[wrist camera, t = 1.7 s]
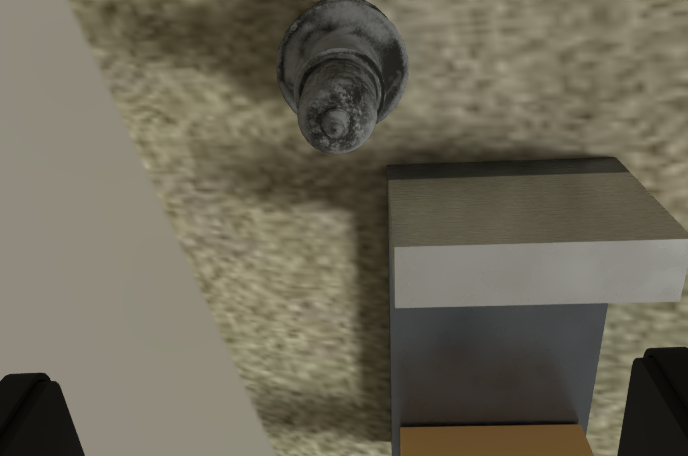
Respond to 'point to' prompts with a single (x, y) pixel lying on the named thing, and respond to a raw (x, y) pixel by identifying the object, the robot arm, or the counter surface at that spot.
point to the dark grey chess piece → (341, 72)
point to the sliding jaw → (495, 441)
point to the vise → (515, 285)
